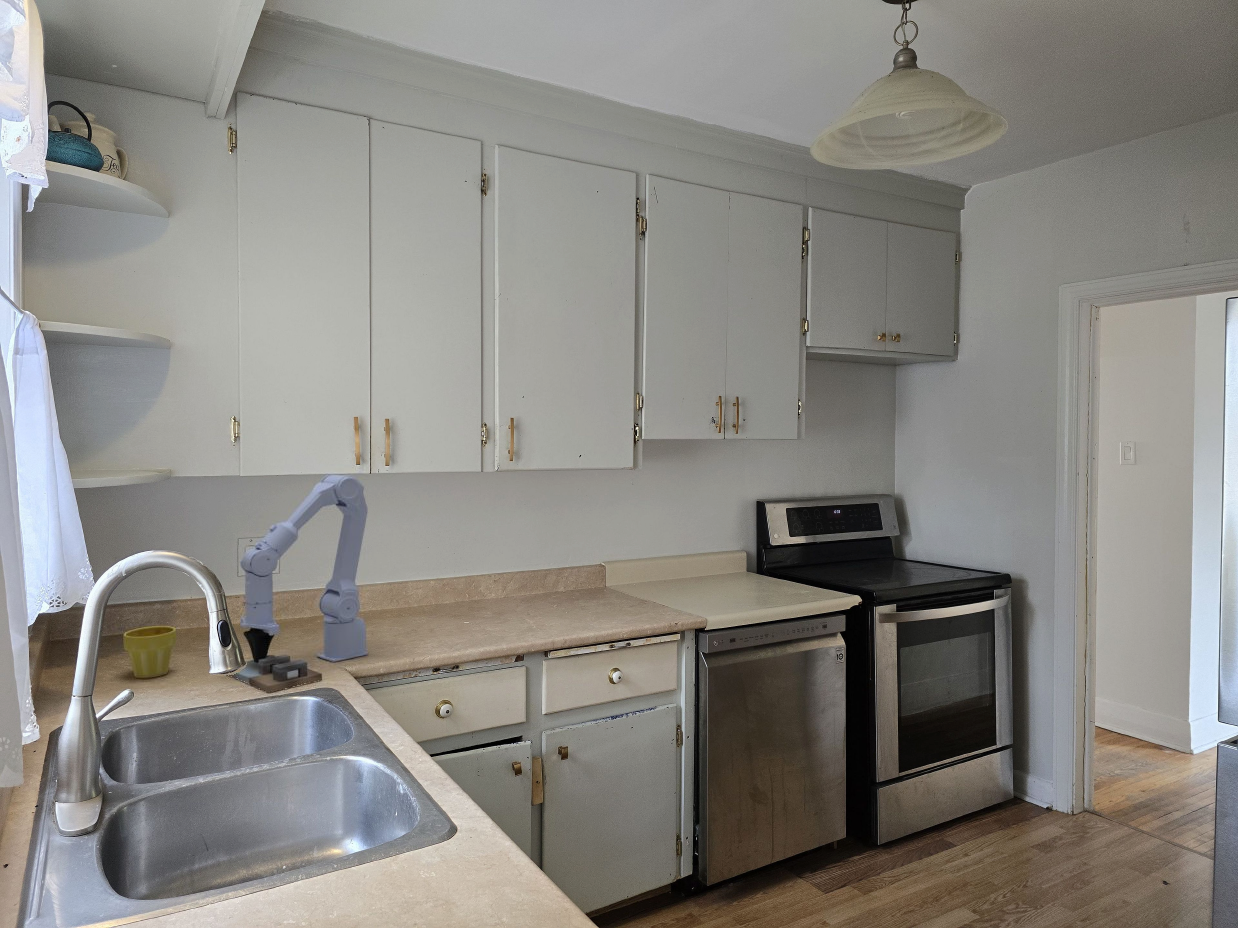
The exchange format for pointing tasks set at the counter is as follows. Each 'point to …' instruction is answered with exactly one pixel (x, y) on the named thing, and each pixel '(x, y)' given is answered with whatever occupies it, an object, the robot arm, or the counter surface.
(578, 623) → the counter surface
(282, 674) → the door and jamb
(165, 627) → the plant pot
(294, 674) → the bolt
